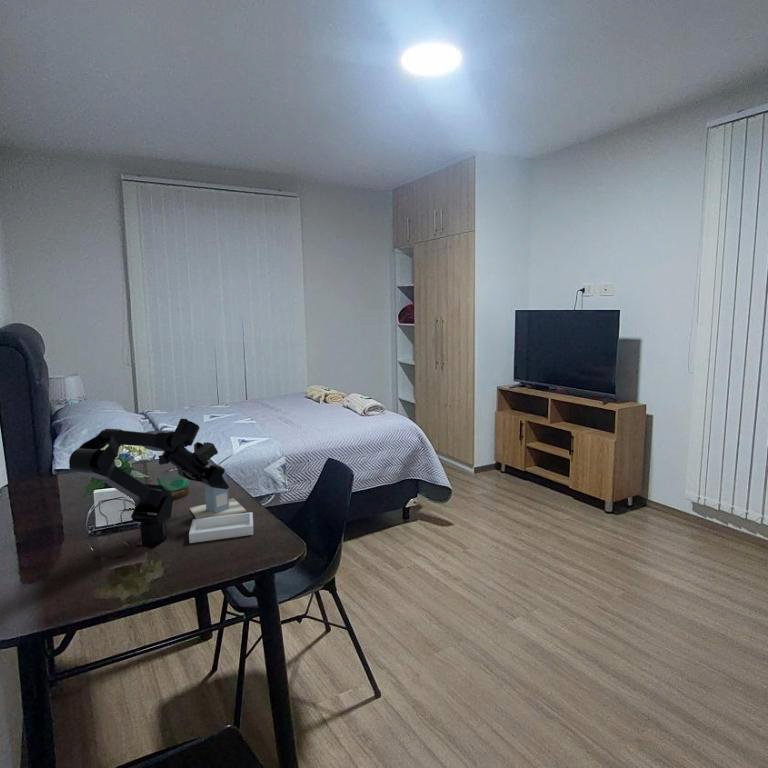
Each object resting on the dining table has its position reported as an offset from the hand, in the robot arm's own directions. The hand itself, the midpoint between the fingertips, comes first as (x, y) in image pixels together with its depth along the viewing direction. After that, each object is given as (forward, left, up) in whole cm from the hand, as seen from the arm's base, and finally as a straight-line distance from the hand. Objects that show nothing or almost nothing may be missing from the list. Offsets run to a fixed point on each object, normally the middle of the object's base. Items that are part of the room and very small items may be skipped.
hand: (219, 485), depth 163 cm
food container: (+11, +22, -9) cm, 26 cm away
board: (-1, +1, -8) cm, 9 cm away
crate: (-15, -9, -8) cm, 20 cm away
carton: (-1, +1, -7) cm, 8 cm away
